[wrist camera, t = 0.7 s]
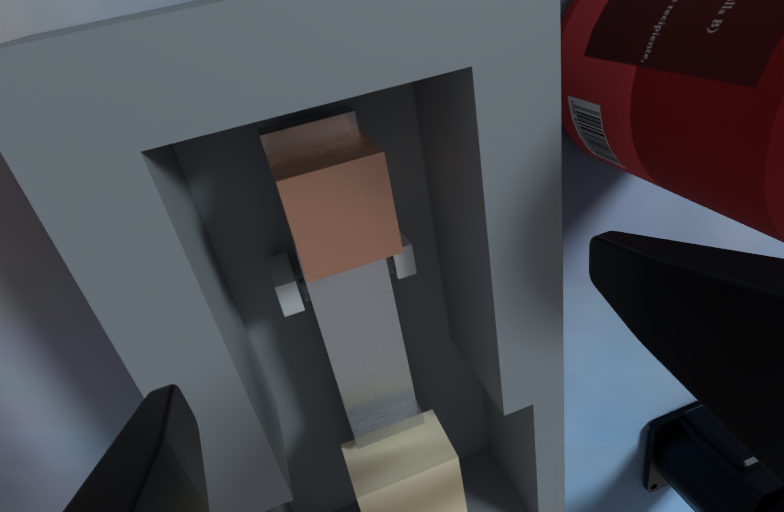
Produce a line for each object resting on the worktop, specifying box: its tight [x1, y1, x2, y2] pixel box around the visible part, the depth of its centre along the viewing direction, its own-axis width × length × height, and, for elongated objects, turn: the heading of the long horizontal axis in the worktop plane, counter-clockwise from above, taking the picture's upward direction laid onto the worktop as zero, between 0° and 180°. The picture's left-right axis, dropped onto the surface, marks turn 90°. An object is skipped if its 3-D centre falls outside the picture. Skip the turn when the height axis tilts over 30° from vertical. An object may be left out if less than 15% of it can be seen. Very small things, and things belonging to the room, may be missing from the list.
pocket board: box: [0, 0, 565, 512], centre depth 19 cm, size 24×13×5 cm, turn 11°
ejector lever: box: [257, 106, 425, 449], centre depth 19 cm, size 18×3×3 cm, turn 11°
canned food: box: [560, 0, 784, 242], centre depth 16 cm, size 8×8×11 cm
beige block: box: [341, 409, 467, 512], centre depth 21 cm, size 5×4×3 cm
